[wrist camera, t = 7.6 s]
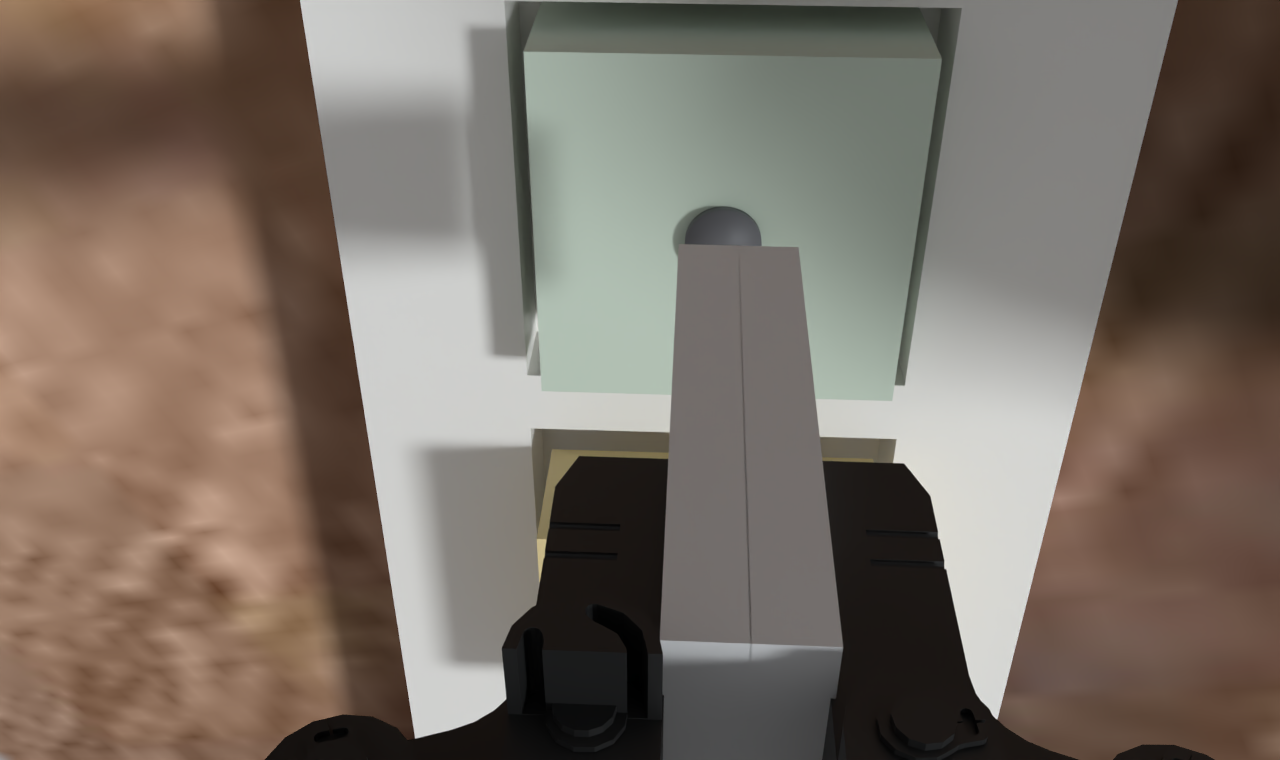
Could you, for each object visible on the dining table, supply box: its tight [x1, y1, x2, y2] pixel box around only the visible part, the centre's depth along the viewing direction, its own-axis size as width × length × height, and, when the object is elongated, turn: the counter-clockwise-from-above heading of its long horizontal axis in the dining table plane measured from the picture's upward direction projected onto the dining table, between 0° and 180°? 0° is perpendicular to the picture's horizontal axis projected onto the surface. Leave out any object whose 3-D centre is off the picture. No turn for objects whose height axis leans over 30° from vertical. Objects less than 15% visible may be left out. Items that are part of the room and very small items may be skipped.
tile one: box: [523, 1, 942, 401], centre depth 20 cm, size 6×6×3 cm
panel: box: [300, 0, 1178, 739], centre depth 26 cm, size 24×13×2 cm, turn 0°
